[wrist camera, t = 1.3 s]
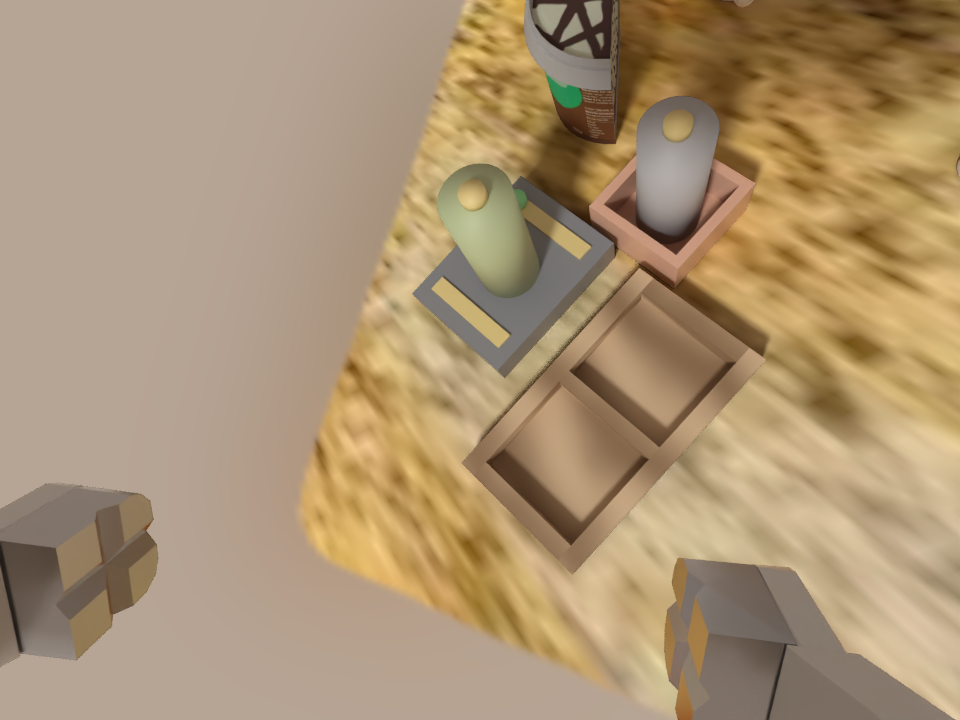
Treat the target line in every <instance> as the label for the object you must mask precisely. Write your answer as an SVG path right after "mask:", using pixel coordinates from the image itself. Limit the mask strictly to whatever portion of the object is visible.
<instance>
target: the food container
mask: <svg viewBox="0 0 960 720" xmlns="http://www.w3.org/2000/svg"><path fill="white" fill-rule="evenodd" d="M524 33H525V38H526V43H527V46H528V49H529V51H530V53H531V55H532V57H533V58H534V60H535V61H536V63H537V64H538V65H539V66H540V67H541V68H542V69H543V70H544V71H545V73H546V77H547V80H548V83H549V87H550V90H551V93H552V96H553V100H554V103H555V106H556V110H557V113H558V115H559V117H560V119H561V121H562V122H563V124H564V125H565V126H566V127H567V128H568V129H569V130H570V131H571V132H572V133H574V134H575V135H577V136H578V137H580V138H583V139H585V140H588V141H591V142H595V143H602V144H615V143H616V123H617V103H618V82H619V62H620V0H526V3H525V20H524Z"/></svg>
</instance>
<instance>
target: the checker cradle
mask: <svg viewBox="0 0 960 720" xmlns="http://www.w3.org/2000/svg"><path fill="white" fill-rule="evenodd" d="M512 187H513V189H514V192H515V195H516V198H517V200H518V203H519V206H520V209H521V212H522V214H523V217H524V220H525V223H526V225H527V228H528V231H529V234H530V236H531V239H532V242H533V245H534V247H535V250H536V253H537V256H538V258H539V262H540V272H539V276H538V278H537V281H536V282H535V284H534V285H533V286H532V287H531V288H530V289H529V290H528V291H527V292H526V293H524V294H522V295H520V296H517V297H513V298H501V297H498V296H495V295H493V294H491V293H490V292H489V291H488V290H487V289H486V288H485V287H484V285H483V284H482V282H481V281H480V279H479V278H478V276H477V274H476V273H475V271H474V270H473V268H472V267H471V265H470V264H469V262H468V260H467V259H466V257H465V256H464V254H463V253H462V251H461V250H460V248H459V246H458V245H457V246H456V247H455V248H454V249H453V250H452V251H451V252H450V253H449V254H448V256H447V257H446V258H445V259H444V260H443V261H442V262H441V263H440V264H439V265H438V266H437V267H436V269H435V270H434V271H433V272H432V273H431V274H430V275H429V276H428V277H427V278H426V279H425V280H424V282H423V283H422V284H421V285H420V286H419V287H418V288H417V289H416V290H415V291H414V292H413V293H412V294H413V295H414V296H415V297H416V298H417V299H418V300H419V301H420V302H421V303H422V304H423V305H424V306H425V307H426V308H427V309H428V310H429V311H431V312H432V313H433V314H434V315H435V316H436V317H437V318H438V319H439V320H441V321H442V322H443V323H444V324H445V325H446V326H447V327H448V328H449V329H451V330H452V331H453V332H454V333H455V334H456V335H457V336H458V337H460V338H461V339H462V340H463V341H464V342H465V343H466V344H467V345H468V346H470V347H471V348H472V349H473V350H474V351H475V352H476V353H477V354H478V355H480V356H481V357H482V358H483V359H484V360H485V361H486V362H487V363H488V364H490V365H491V366H492V367H493V368H494V369H495V370H496V371H497V372H498V373H500V374H501V375H502V376H503V377H504V378H505V377H506V376H507V375H508V374H509V373H510V372H511V370H512V369H513V368H514V367H515V366H516V365H517V364H518V363H519V362H520V361H521V360H522V358H523V357H524V356H525V355H526V354H527V353H528V352H529V351H530V350H531V349H532V348H533V346H534V345H535V344H536V343H537V342H538V341H539V340H540V339H541V338H542V337H543V335H544V334H545V333H546V332H547V331H548V330H549V329H550V328H551V327H552V326H553V325H554V323H555V322H556V321H557V320H558V319H559V318H560V317H561V316H562V315H563V314H564V313H565V311H566V310H567V309H568V308H569V307H570V306H571V305H572V304H573V303H574V302H575V300H576V299H577V298H578V297H579V296H580V295H581V294H582V293H583V292H584V291H585V290H586V288H587V287H588V286H589V285H590V284H591V283H592V282H593V281H594V280H595V279H596V278H597V276H598V275H599V274H600V273H601V272H602V271H603V270H604V269H605V268H606V267H607V266H608V264H609V263H610V262H611V261H612V260H613V259H614V258H615V252H614V243H613V242H612V241H610V240H609V239H607V238H606V237H605V236H603V235H602V234H600V233H599V232H598V231H596V230H595V229H594V228H592V227H591V226H589V225H588V224H587V223H585V222H584V221H582V220H581V219H580V218H578V217H577V216H575V215H574V214H573V213H571V212H570V211H568V210H567V209H566V208H564V207H563V206H562V205H560V204H559V203H557V202H556V201H555V200H553V199H552V198H550V197H549V196H548V195H546V194H545V193H543V192H542V191H541V190H539V189H538V188H536V187H535V186H534V185H532V184H531V183H530V182H528V181H527V180H525V179H524V178H523V177H521V176H520V178H519V179H518V180H517V181H516V182H515V183H514V184H513V185H512Z"/></svg>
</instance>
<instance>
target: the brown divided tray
mask: <svg viewBox="0 0 960 720" xmlns="http://www.w3.org/2000/svg"><path fill="white" fill-rule="evenodd" d="M765 361H766V359H764V358H763V357H762V356H760V355H759V354H758V353H756V352H755V351H753V350H752V349H751V348H749V347H748V346H746V345H745V344H744V343H742V342H741V341H740V340H738V339H737V338H735V337H734V336H733V335H731V334H730V333H729V332H727V331H726V330H724V329H723V328H722V327H720V326H719V325H717V324H716V323H715V322H713V321H712V320H711V319H709V318H708V317H706V316H705V315H704V314H702V313H701V312H699V311H698V310H697V309H695V308H694V307H693V306H691V305H690V304H688V303H687V302H686V301H684V300H683V299H682V298H680V297H679V296H677V295H676V294H675V293H673V292H672V291H670V290H669V289H668V288H666V287H665V286H664V285H662V284H661V283H659V282H658V281H657V280H655V279H654V278H653V277H651V276H650V275H648V274H647V273H646V272H644V271H643V270H641V269H640V268H639V269H638V270H637V271H636V272H635V273H634V274H633V276H632V277H631V278H630V279H629V280H628V281H627V282H626V283H625V284H624V285H623V287H622V288H621V289H620V290H619V291H618V292H617V293H616V294H615V295H614V296H613V298H612V299H611V300H610V301H609V302H608V303H607V304H606V305H605V306H604V307H603V308H602V310H601V311H600V312H599V313H598V314H597V315H596V316H595V317H594V318H593V319H592V321H591V322H590V323H589V324H588V325H587V326H586V327H585V328H584V329H583V330H582V331H581V333H580V334H579V335H578V336H577V337H576V338H575V339H574V340H573V341H572V342H571V344H570V345H569V346H568V347H567V348H566V349H565V350H564V351H563V352H562V353H561V354H560V356H559V357H558V358H557V359H556V360H555V361H554V362H553V363H552V364H551V365H550V367H549V368H548V369H547V370H546V371H545V372H544V373H543V374H542V375H541V376H540V377H539V379H538V380H537V381H536V382H535V383H534V384H533V385H532V386H531V387H530V388H529V390H528V391H527V392H526V393H525V394H524V395H523V396H522V397H521V398H520V399H519V400H518V402H517V403H516V404H515V405H514V406H513V407H512V408H511V409H510V410H509V411H508V413H507V414H506V415H505V416H504V417H503V418H502V419H501V420H500V421H499V422H498V423H497V425H496V426H495V427H494V428H493V429H492V430H491V431H490V432H489V433H488V434H487V436H486V437H485V438H484V439H483V440H482V441H481V442H480V443H479V444H478V445H477V447H476V448H475V449H474V450H473V451H472V452H471V453H470V454H469V455H468V456H467V457H466V459H465V460H464V461H463V462H462V464H463V465H464V466H465V467H466V468H467V469H468V470H469V471H470V472H471V473H472V474H473V475H474V476H475V477H476V478H477V479H478V480H479V481H480V482H481V483H482V484H483V485H484V486H485V487H486V488H487V489H488V490H489V491H490V492H491V493H492V494H493V495H494V496H495V497H496V498H497V499H498V500H499V501H500V502H501V503H502V504H503V505H504V506H505V507H506V508H507V509H508V510H509V511H510V512H511V513H512V514H513V515H514V516H515V517H516V518H517V519H518V520H519V521H520V522H521V523H522V524H523V525H524V526H525V527H526V528H527V529H528V530H529V531H530V532H531V533H532V534H533V535H534V536H535V537H536V538H537V539H538V540H539V542H540V543H541V544H542V545H543V546H544V547H545V548H546V549H547V550H548V551H549V552H550V553H551V554H552V555H553V556H554V557H555V558H556V559H557V560H558V561H559V562H560V563H561V564H562V565H563V566H564V567H565V568H566V569H567V570H568V571H569V572H570V573H571V574H573V573H574V572H576V570H577V569H578V568H579V567H580V566H581V565H582V564H583V563H584V562H585V560H586V559H587V558H588V557H589V556H590V555H591V554H592V553H593V552H594V550H595V549H596V548H597V547H598V546H599V545H600V544H601V543H602V542H603V540H604V539H605V538H606V537H607V536H608V535H609V534H610V533H611V532H612V531H613V529H614V528H615V527H616V526H617V525H618V524H619V523H620V522H621V521H622V519H623V518H624V517H625V516H626V515H627V514H628V513H629V512H630V511H631V509H632V508H633V507H634V506H635V505H636V504H637V503H638V502H639V501H640V499H641V498H642V497H643V496H644V495H645V494H646V493H647V492H648V491H649V489H650V488H651V487H652V486H653V485H654V484H655V483H656V482H657V481H658V480H659V478H660V477H661V476H662V475H663V474H664V473H665V472H666V471H667V470H668V468H669V467H670V466H671V465H672V464H673V463H674V462H675V461H676V460H677V458H678V457H679V456H680V455H681V454H682V453H683V452H684V451H685V450H686V448H687V447H688V446H689V445H690V444H691V443H692V442H693V441H694V440H695V438H696V437H697V436H698V435H699V434H700V433H701V432H702V431H703V430H704V429H705V427H706V426H707V425H708V424H709V423H710V422H711V421H712V420H713V419H714V417H715V416H716V415H717V414H718V413H719V412H720V411H721V410H722V409H723V407H724V406H725V405H726V404H727V403H728V402H729V401H730V400H731V399H732V397H733V396H734V395H735V394H736V393H737V392H738V391H739V390H740V389H741V387H742V386H743V385H744V384H745V383H746V382H747V381H748V380H749V379H750V378H751V376H752V375H753V374H754V373H755V372H756V371H757V370H758V369H759V368H760V366H761V365H762V364H763V363H764V362H765Z"/></svg>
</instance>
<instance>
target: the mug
mask: <svg viewBox="0 0 960 720" xmlns="http://www.w3.org/2000/svg"><path fill="white" fill-rule="evenodd" d="M723 1H734V2H735V4H736V5H737V6H739V7H745V6H748V5H750V4H751V3H752V2H753V0H723Z"/></svg>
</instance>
